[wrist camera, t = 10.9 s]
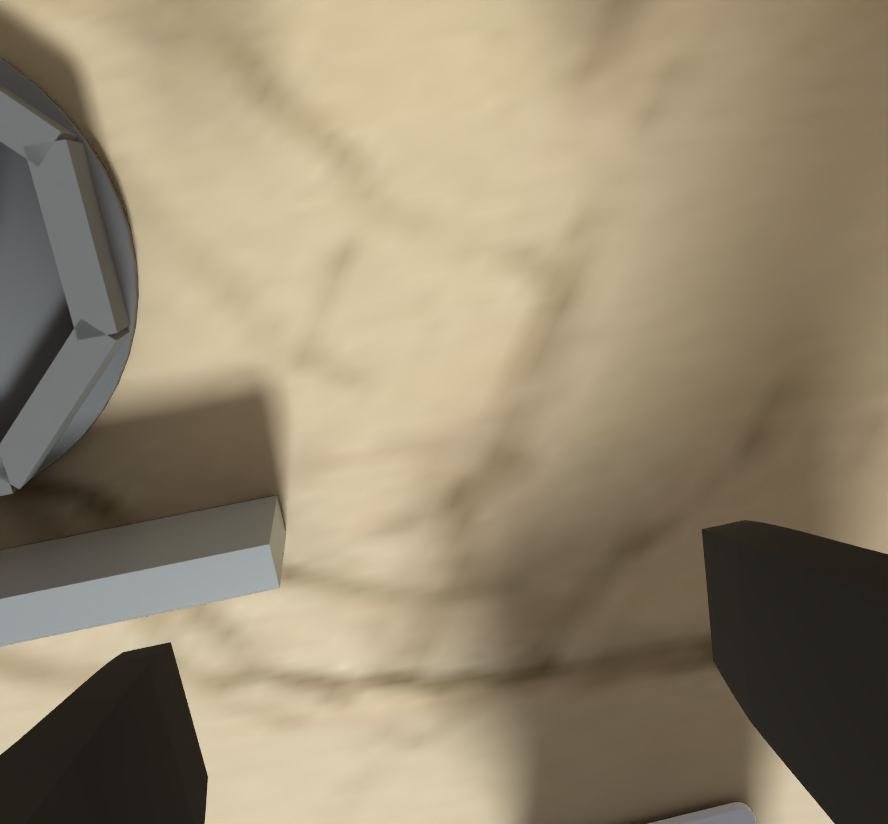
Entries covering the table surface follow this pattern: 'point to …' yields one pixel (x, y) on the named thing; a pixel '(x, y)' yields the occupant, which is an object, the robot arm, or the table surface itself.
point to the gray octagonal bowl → (56, 282)
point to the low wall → (140, 569)
